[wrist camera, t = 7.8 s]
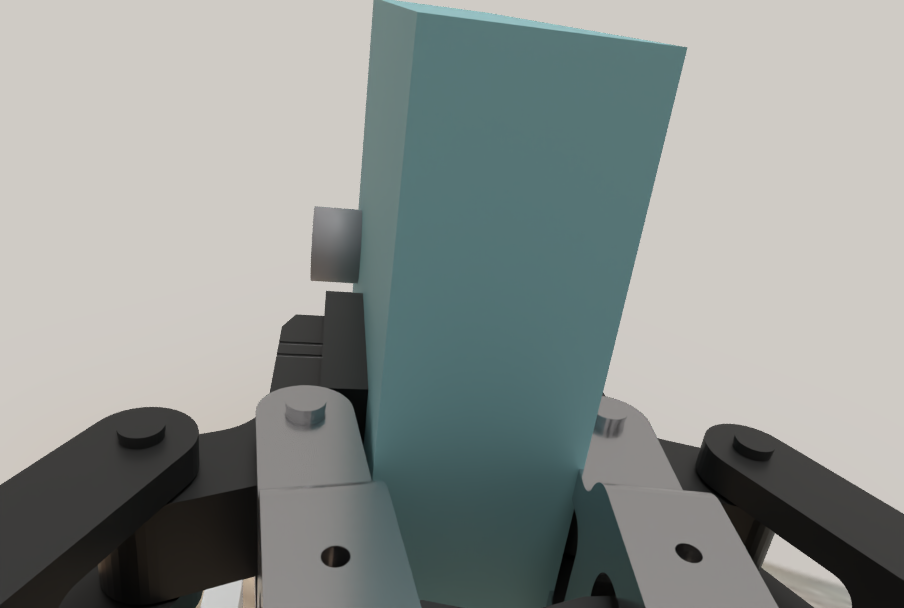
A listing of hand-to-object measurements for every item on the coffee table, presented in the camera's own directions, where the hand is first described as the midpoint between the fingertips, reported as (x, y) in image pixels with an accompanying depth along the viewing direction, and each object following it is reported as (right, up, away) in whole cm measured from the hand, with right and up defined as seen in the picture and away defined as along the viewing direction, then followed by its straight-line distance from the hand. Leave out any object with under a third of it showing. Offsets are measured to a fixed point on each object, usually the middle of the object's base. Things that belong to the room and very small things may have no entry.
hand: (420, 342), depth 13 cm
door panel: (-1, -8, +3) cm, 8 cm away
